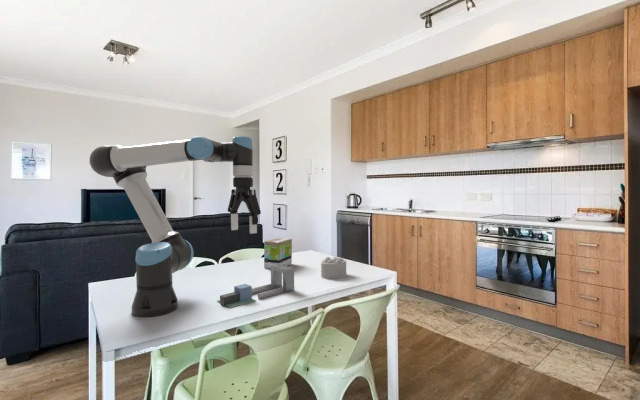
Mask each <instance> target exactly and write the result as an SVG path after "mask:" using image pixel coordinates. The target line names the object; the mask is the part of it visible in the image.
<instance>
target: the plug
mask: <svg viewBox="0 0 640 400" xmlns="http://www.w3.org/2000/svg"><path fill="white" fill-rule="evenodd" d="M252 286H253V285H250V284H247V283H243V284H239V285H235V286H234V287H233V289H234V290H233V292H229V293H225V294H221V295H219V300H220V304H221V305H223V306H225V305H227V304H231V303H235V302H239V301H240V302H241V301H245V300H249V299H253V297H252V296H253V294H252V288H253V287H252Z"/></svg>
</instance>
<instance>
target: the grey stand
mask: <svg viewBox="0 0 640 400" xmlns="http://www.w3.org/2000/svg"><path fill="white" fill-rule="evenodd" d="M293 291H295V268H294V267H292V266H291V267H290V266H284V265H280V264H278V265H273V266H271V269H270V283H269V284H264V285H261V286H256V287H252V295H253V294H257V299H258V300H261V299H264V298H265V299H266V298H269V297H273V296H275V295H276V296H277V295H281V294H283V293H289V292H290V293H291V292H293Z"/></svg>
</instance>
